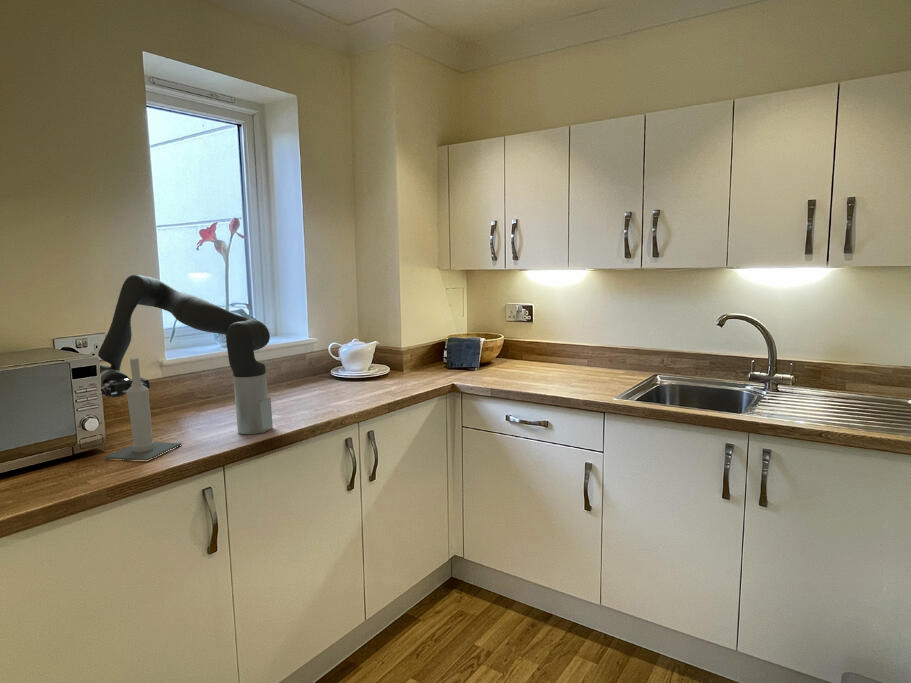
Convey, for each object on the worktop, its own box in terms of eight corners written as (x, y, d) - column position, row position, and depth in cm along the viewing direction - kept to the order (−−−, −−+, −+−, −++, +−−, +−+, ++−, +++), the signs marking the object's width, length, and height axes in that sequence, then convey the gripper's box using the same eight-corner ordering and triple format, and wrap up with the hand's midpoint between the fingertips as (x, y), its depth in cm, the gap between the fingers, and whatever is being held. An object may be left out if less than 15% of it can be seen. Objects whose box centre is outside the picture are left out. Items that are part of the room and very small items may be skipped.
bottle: (158, 446, 159) (148, 356, 155) (148, 452, 154) (139, 360, 150) (139, 446, 159) (129, 357, 155) (129, 453, 154) (118, 360, 150)
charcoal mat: (181, 446, 161) (181, 443, 161) (147, 462, 148) (147, 459, 148) (141, 444, 164) (140, 441, 164) (104, 459, 151) (104, 456, 151)
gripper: (83, 374, 168) (96, 381, 157) (137, 367, 178) (153, 373, 166) (87, 399, 169) (99, 408, 158) (140, 390, 179) (156, 398, 167)
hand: (127, 390), depth 162 cm, fingers open, 8 cm apart
